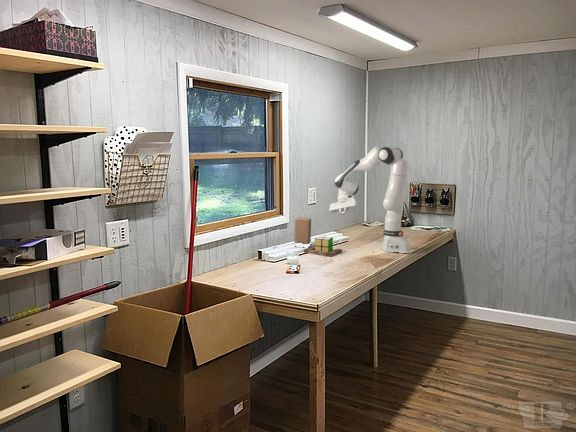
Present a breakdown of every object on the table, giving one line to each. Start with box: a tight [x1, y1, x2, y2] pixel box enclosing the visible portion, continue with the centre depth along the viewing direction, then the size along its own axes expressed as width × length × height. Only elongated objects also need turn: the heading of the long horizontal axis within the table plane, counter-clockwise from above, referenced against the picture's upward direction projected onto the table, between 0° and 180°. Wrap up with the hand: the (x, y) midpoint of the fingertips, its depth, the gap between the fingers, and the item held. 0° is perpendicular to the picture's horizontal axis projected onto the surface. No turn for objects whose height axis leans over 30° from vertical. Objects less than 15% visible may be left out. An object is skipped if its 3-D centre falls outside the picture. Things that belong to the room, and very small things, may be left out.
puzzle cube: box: [314, 235, 334, 252], centre depth 341 cm, size 10×10×10 cm
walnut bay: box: [303, 245, 343, 258], centre depth 340 cm, size 20×17×2 cm
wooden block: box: [294, 216, 312, 244], centre depth 357 cm, size 10×10×20 cm
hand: (342, 213), depth 360 cm, fingers closed
